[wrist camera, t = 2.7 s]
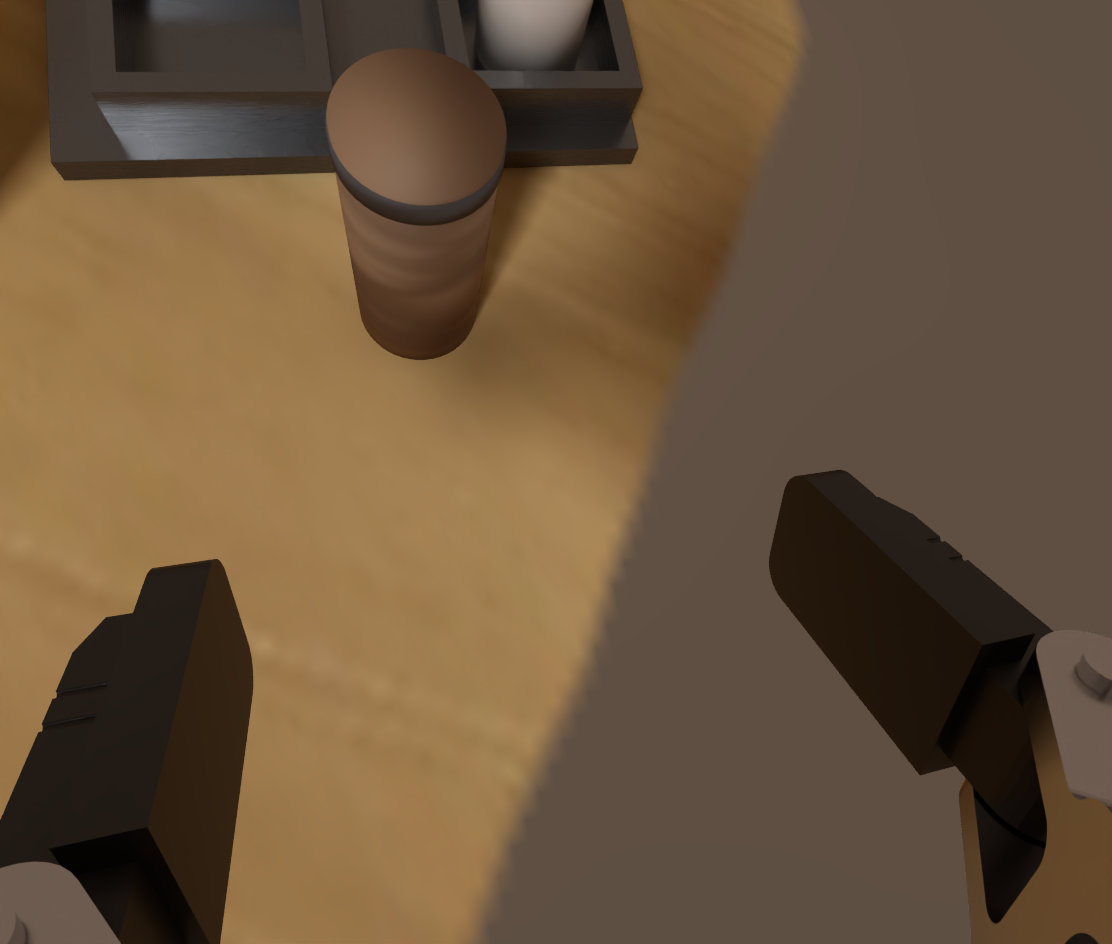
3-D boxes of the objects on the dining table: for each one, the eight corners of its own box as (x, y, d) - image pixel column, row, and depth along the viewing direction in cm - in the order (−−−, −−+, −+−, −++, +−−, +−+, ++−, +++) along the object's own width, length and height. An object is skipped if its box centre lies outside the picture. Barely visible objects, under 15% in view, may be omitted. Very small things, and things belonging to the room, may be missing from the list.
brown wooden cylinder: (365, 366, 26) (334, 206, 16) (351, 257, 27) (314, 45, 17) (484, 355, 27) (521, 198, 17) (467, 251, 28) (493, 47, 18)
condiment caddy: (64, 180, 25) (19, 121, 22) (56, -43, 27) (13, -124, 24) (630, 163, 30) (653, 113, 27) (589, -25, 32) (605, -89, 29)
